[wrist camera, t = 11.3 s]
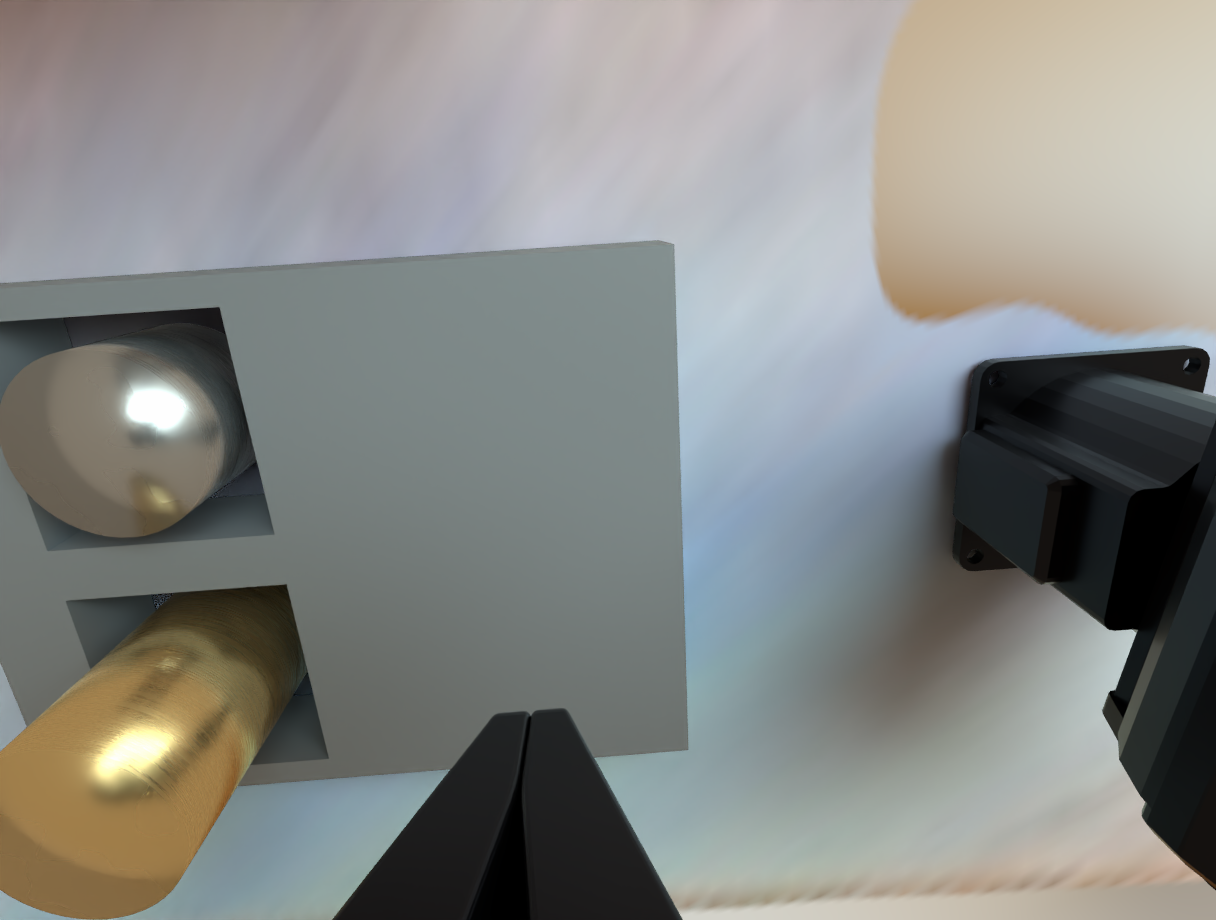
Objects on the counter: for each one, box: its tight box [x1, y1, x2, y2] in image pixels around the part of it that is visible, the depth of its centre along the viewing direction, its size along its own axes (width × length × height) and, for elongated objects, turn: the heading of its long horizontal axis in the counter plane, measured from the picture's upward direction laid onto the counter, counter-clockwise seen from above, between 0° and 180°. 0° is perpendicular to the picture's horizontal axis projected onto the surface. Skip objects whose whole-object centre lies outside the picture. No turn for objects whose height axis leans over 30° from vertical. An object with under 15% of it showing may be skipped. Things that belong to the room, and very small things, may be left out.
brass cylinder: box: [0, 584, 308, 919], centre depth 18 cm, size 4×4×8 cm
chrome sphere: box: [0, 323, 257, 538], centre depth 17 cm, size 4×4×4 cm
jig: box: [0, 240, 688, 786], centre depth 19 cm, size 18×14×3 cm
